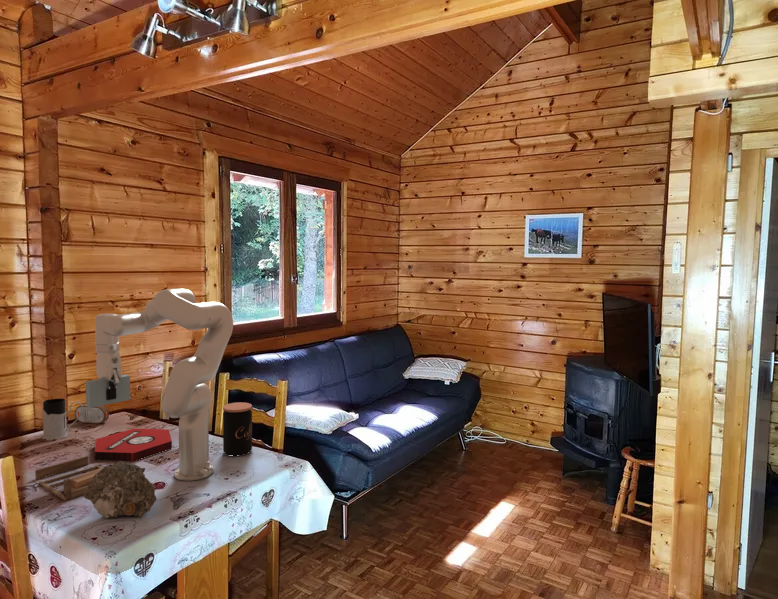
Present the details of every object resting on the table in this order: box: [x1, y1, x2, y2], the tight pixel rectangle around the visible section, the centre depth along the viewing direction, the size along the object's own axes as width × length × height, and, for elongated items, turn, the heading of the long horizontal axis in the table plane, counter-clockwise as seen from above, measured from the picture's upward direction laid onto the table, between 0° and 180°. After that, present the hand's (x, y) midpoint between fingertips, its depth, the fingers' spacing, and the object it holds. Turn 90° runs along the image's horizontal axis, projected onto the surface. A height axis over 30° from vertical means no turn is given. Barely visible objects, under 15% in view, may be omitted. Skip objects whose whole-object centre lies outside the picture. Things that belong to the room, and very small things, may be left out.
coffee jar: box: [222, 402, 253, 457], centre depth 194 cm, size 11×11×18 cm
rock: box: [83, 461, 157, 519], centre depth 147 cm, size 18×14×15 cm
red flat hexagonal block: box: [94, 428, 173, 462], centre depth 197 cm, size 27×4×30 cm
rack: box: [34, 455, 104, 502], centre depth 167 cm, size 24×18×6 cm
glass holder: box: [42, 398, 83, 441], centre depth 209 cm, size 9×14×15 cm, turn 118°
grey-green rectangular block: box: [85, 374, 131, 408], centre depth 182 cm, size 3×14×9 cm, turn 144°
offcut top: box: [70, 468, 102, 489], centre depth 163 cm, size 4×10×2 cm, turn 151°
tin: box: [74, 403, 110, 425], centre depth 226 cm, size 15×3×8 cm, turn 82°
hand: (108, 398), depth 183 cm, fingers closed on grey-green rectangular block, 3 cm apart
